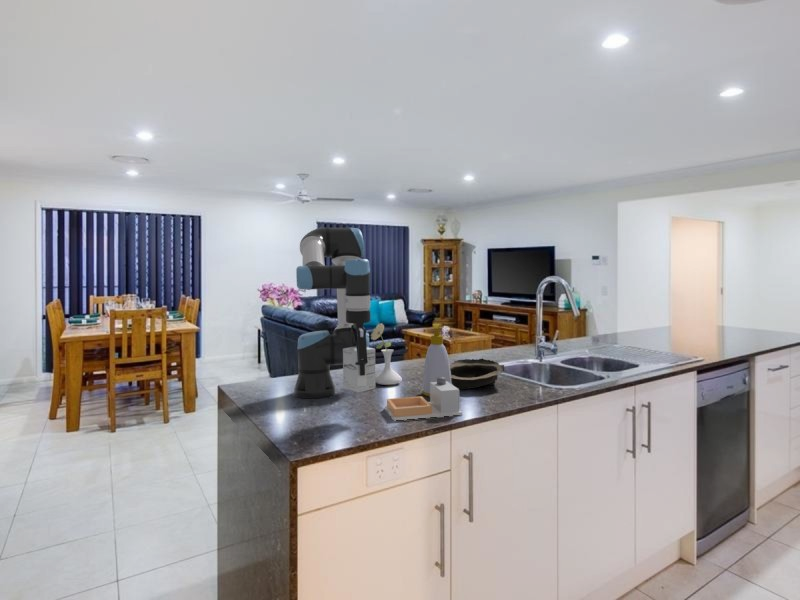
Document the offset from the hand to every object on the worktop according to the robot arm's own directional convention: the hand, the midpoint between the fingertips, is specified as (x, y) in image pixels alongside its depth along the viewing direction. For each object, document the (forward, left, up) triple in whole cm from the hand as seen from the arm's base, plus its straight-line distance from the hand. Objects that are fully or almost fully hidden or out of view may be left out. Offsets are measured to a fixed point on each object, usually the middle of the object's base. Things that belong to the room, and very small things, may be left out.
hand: (359, 381), depth 146 cm
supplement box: (0, 0, -2) cm, 2 cm away
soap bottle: (+32, +21, -12) cm, 40 cm away
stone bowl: (+49, +29, -12) cm, 58 cm away
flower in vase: (+17, +42, -12) cm, 47 cm away
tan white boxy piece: (+20, +1, -12) cm, 24 cm away
